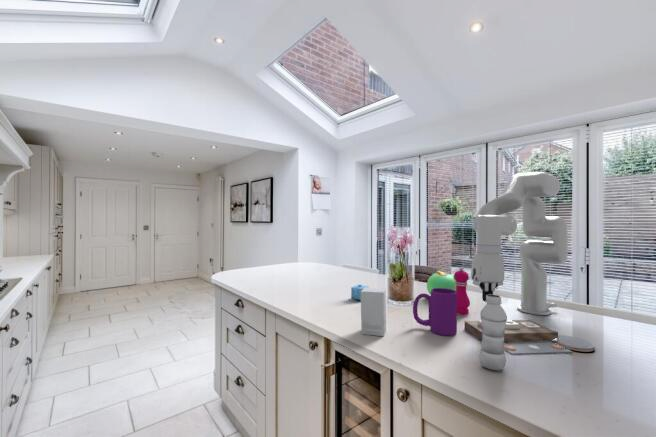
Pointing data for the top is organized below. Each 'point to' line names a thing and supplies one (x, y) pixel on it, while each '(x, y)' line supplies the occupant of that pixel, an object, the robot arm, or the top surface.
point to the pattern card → (534, 348)
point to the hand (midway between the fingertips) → (487, 301)
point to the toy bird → (441, 281)
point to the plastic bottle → (493, 334)
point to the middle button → (511, 325)
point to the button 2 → (529, 325)
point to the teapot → (357, 291)
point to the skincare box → (373, 311)
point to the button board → (517, 332)
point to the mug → (439, 311)
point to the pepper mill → (462, 291)
